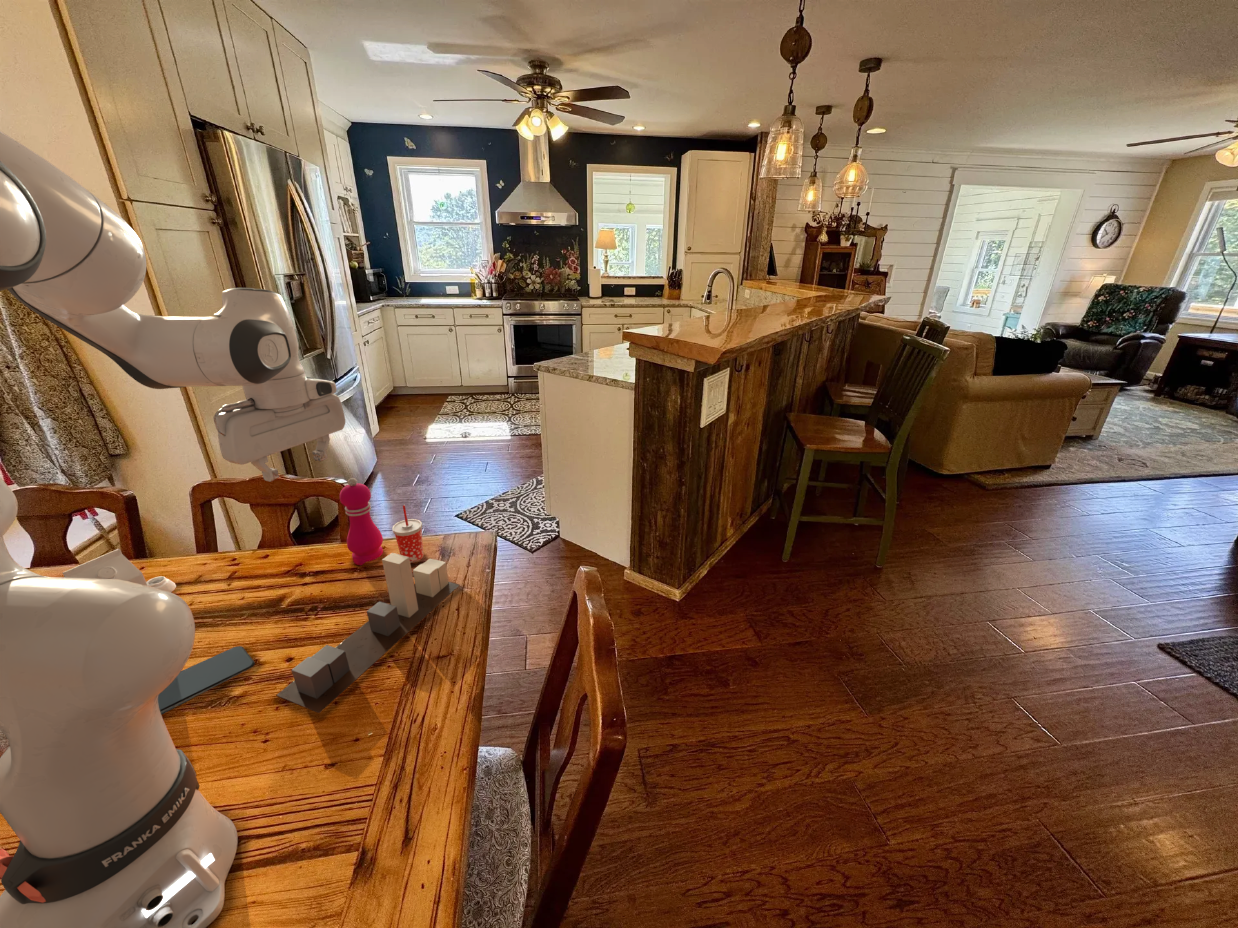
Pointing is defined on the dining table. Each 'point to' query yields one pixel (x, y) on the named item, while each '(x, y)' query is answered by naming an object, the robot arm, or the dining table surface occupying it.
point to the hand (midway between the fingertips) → (297, 469)
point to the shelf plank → (366, 651)
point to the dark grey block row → (339, 655)
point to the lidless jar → (161, 584)
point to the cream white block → (430, 577)
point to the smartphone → (204, 677)
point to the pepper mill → (361, 523)
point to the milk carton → (108, 569)
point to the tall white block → (400, 584)
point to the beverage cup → (409, 537)
